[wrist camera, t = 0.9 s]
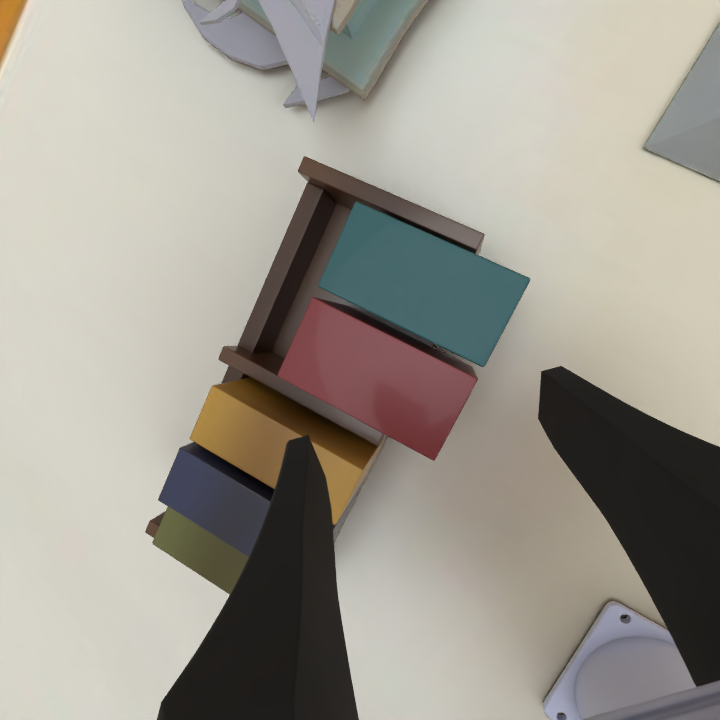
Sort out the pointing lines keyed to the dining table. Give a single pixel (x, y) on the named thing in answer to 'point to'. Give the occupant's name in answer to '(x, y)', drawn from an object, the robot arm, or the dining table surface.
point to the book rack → (278, 393)
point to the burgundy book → (378, 375)
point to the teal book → (423, 283)
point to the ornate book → (311, 40)
